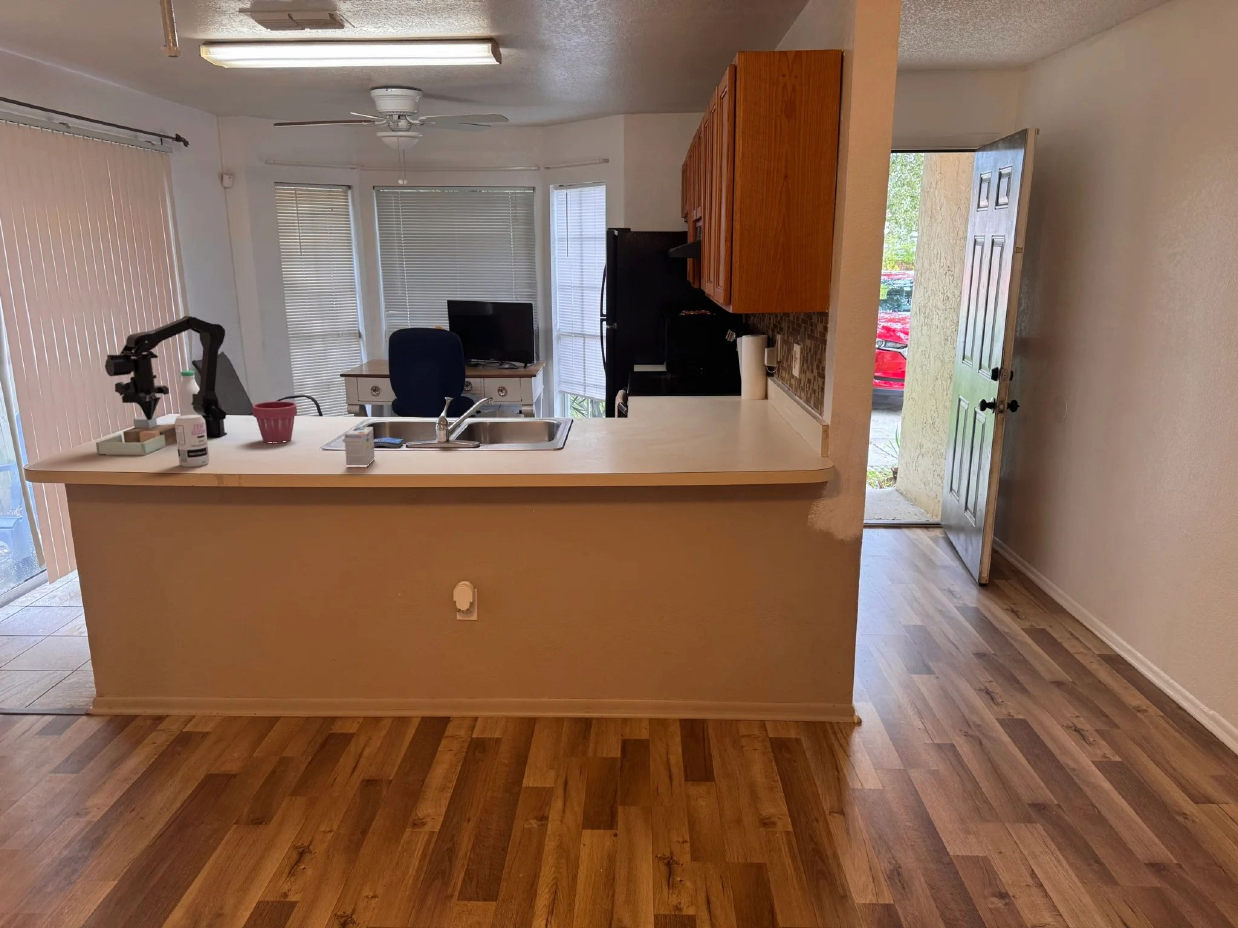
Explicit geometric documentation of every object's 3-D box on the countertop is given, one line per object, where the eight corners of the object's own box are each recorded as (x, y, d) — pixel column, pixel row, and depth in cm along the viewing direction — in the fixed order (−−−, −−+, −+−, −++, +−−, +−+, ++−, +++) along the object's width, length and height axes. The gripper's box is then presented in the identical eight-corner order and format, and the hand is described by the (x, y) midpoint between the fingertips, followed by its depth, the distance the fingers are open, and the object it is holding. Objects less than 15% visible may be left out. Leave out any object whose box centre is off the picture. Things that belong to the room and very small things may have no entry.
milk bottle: (195, 425, 316) (189, 372, 311) (177, 424, 317) (171, 372, 313) (208, 422, 323) (203, 370, 318) (191, 421, 325) (185, 369, 320)
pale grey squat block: (157, 425, 291) (156, 416, 290) (149, 428, 286) (148, 419, 285) (142, 425, 291) (141, 416, 290) (134, 428, 286) (133, 419, 285)
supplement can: (186, 461, 262) (180, 414, 259) (213, 461, 263) (208, 413, 259) (174, 467, 254) (169, 418, 251) (203, 467, 255) (198, 418, 251)
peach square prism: (159, 430, 280) (154, 432, 277) (161, 445, 281) (156, 447, 278) (144, 430, 279) (139, 432, 276) (145, 445, 281) (141, 447, 278)
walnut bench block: (181, 439, 293) (180, 425, 292) (164, 446, 282) (162, 431, 280) (144, 438, 293) (142, 424, 292) (125, 446, 281) (123, 431, 280)
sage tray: (165, 446, 282) (164, 434, 281) (144, 455, 269) (143, 443, 268) (120, 446, 281) (119, 434, 280) (97, 455, 269) (95, 442, 268)
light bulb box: (353, 460, 267) (351, 426, 264) (375, 459, 268) (373, 426, 265) (345, 468, 257) (343, 433, 254) (368, 468, 257) (366, 433, 255)
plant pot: (301, 443, 290) (298, 406, 286) (257, 446, 283) (253, 409, 280) (296, 435, 302) (294, 400, 299) (254, 438, 296) (251, 402, 293)
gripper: (133, 368, 284) (139, 414, 288) (101, 377, 266) (108, 425, 270) (166, 369, 285) (172, 414, 289) (137, 377, 267) (144, 425, 270)
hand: (149, 419), depth 279 cm, fingers closed
